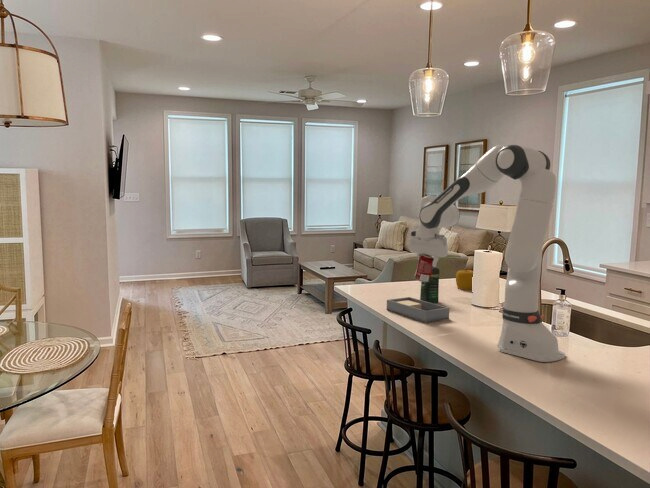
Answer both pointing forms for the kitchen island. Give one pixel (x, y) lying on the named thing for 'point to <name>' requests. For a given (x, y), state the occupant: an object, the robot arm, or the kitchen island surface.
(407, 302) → the tan square block
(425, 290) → the coffee jar
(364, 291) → the kitchen island surface
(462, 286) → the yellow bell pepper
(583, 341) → the kitchen island surface
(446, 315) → the tray
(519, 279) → the robot arm
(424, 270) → the soda can
